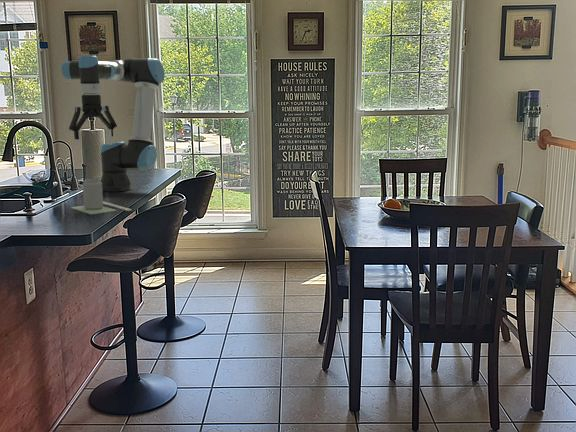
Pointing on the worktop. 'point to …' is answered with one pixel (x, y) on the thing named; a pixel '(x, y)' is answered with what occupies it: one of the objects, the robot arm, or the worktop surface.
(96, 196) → the can
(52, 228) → the worktop surface
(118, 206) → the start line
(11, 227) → the worktop surface
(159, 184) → the worktop surface
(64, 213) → the worktop surface
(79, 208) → the mat
